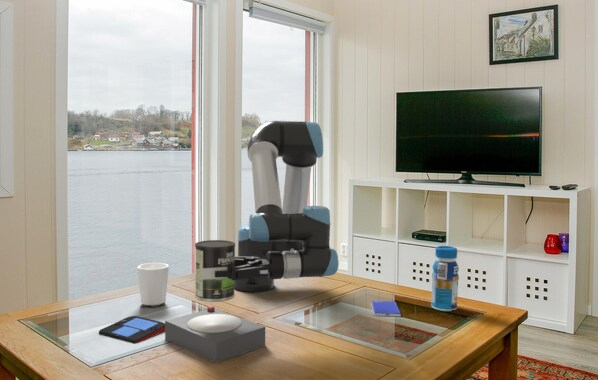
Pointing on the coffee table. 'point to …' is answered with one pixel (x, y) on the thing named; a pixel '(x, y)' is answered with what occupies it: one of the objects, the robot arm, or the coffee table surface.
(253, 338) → the dome button box
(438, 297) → the beverage bottle
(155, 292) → the cup
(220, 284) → the coffee can
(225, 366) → the coffee table surface
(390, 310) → the hard drive
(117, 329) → the game console
